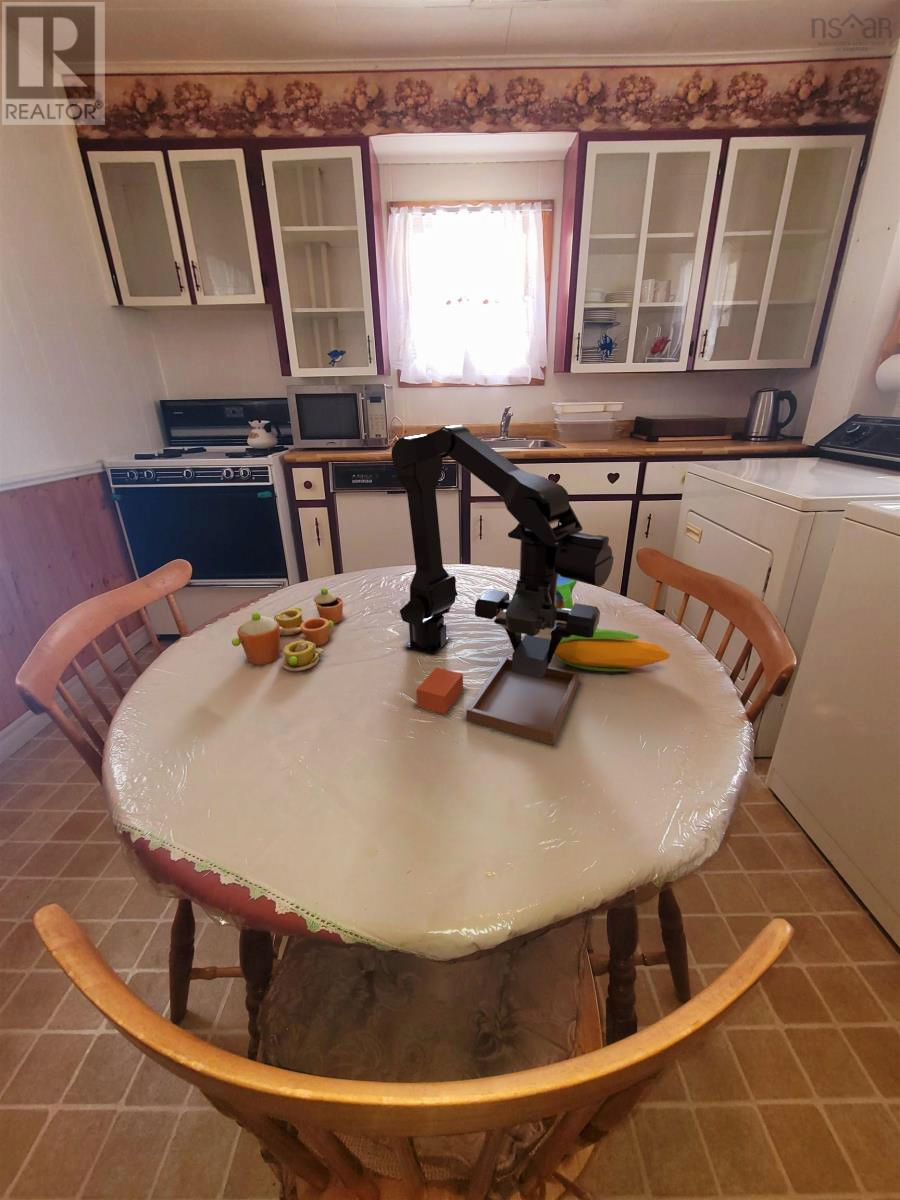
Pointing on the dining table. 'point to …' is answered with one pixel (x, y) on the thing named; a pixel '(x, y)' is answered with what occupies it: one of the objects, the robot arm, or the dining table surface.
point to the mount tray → (524, 702)
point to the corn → (609, 651)
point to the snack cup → (564, 593)
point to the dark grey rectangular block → (531, 656)
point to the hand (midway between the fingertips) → (533, 658)
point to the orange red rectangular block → (440, 690)
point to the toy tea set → (265, 634)
